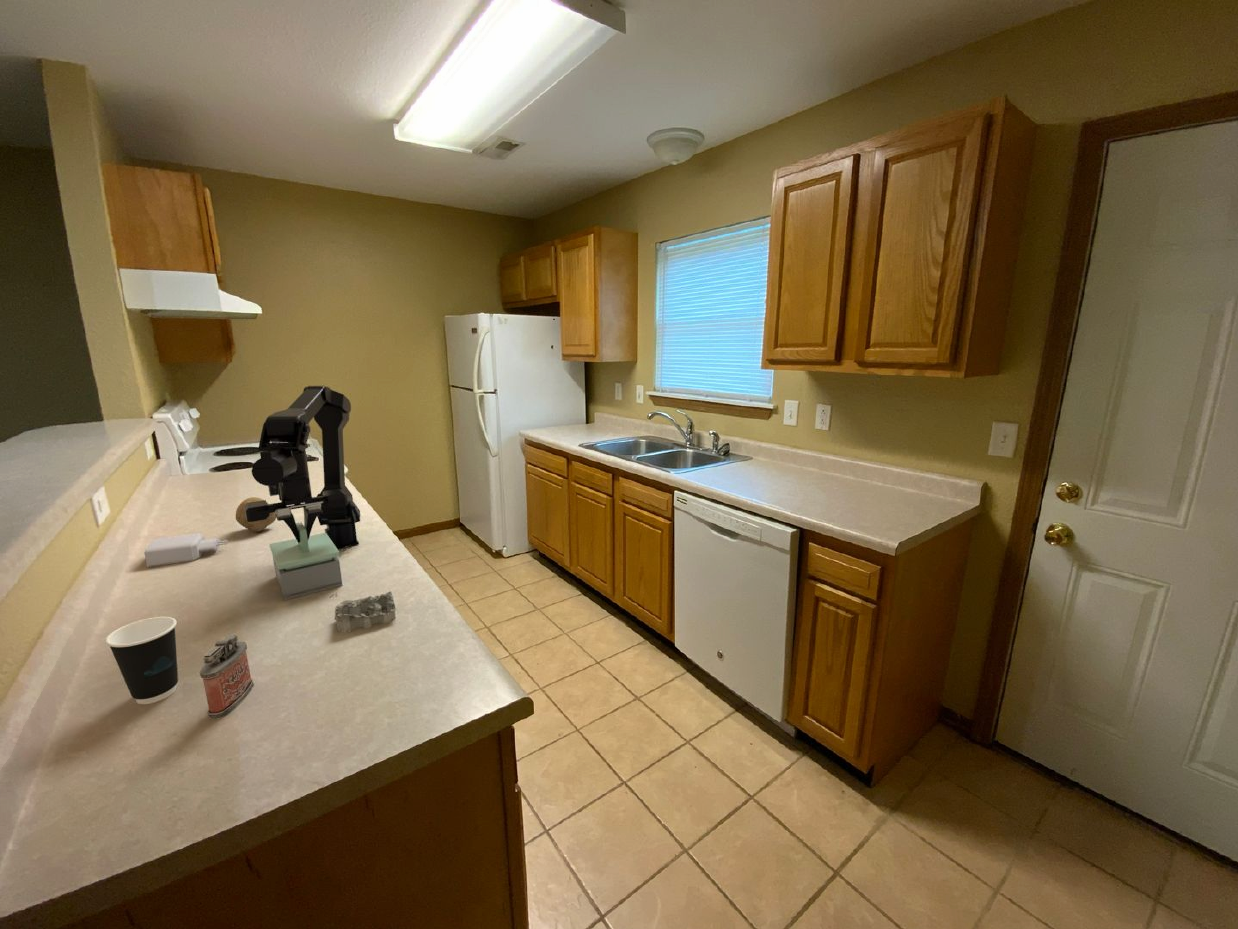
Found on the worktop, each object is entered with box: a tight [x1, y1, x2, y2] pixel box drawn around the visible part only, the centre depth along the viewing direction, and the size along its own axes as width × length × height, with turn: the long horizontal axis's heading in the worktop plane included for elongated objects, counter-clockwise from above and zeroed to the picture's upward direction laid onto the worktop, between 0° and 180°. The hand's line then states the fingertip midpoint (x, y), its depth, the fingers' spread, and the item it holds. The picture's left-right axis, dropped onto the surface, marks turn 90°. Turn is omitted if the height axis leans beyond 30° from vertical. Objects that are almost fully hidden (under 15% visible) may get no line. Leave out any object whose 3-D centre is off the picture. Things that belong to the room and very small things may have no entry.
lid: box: [269, 522, 341, 570], centre depth 115 cm, size 11×14×7 cm
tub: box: [271, 553, 343, 601], centre depth 116 cm, size 11×14×6 cm
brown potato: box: [235, 496, 277, 533], centre depth 145 cm, size 9×9×10 cm
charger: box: [143, 532, 229, 568], centre depth 130 cm, size 5×9×15 cm
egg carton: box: [334, 590, 397, 634], centre depth 101 cm, size 11×8×4 cm
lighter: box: [199, 633, 255, 720], centre depth 78 cm, size 8×3×10 cm, turn 5°
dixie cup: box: [105, 616, 179, 705], centre depth 79 cm, size 8×8×11 cm
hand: (302, 541), depth 115 cm, fingers closed on lid
